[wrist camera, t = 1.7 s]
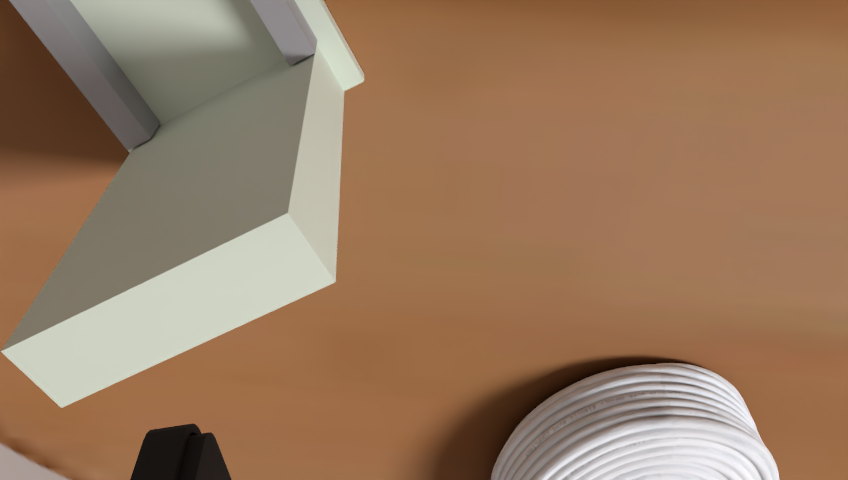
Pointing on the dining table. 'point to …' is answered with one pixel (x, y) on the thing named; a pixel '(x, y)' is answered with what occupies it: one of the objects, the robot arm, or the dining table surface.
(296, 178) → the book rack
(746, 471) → the cable
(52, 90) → the dining table surface
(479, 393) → the dining table surface
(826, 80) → the dining table surface
